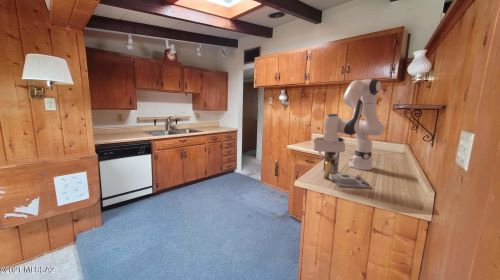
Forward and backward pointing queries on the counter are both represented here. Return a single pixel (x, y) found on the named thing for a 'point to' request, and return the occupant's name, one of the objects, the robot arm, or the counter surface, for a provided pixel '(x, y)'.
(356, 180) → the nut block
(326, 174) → the pin
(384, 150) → the counter surface
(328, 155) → the coffee box
